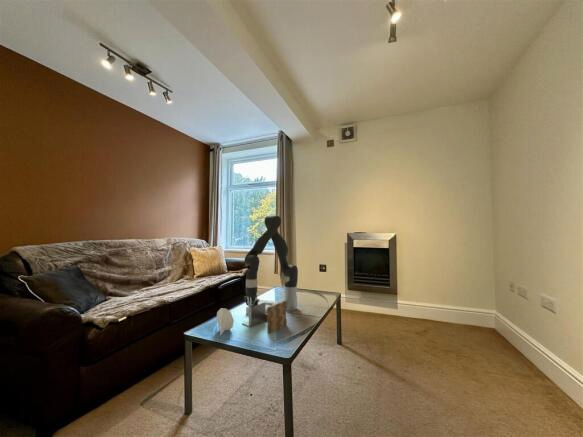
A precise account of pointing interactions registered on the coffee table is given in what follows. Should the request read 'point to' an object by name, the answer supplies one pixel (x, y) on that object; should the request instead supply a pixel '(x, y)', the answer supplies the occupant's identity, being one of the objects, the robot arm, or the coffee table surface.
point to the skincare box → (267, 304)
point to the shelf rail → (266, 319)
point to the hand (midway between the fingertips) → (251, 312)
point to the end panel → (276, 316)
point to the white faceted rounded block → (224, 320)
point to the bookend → (256, 314)
